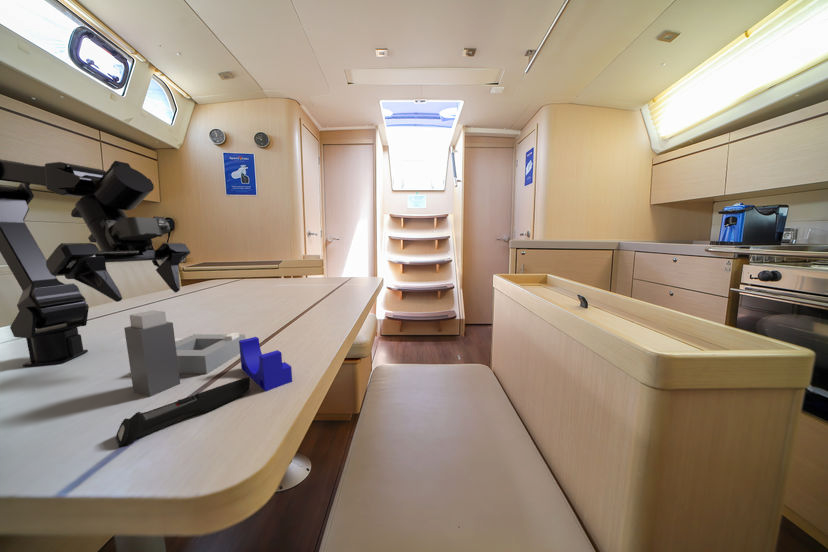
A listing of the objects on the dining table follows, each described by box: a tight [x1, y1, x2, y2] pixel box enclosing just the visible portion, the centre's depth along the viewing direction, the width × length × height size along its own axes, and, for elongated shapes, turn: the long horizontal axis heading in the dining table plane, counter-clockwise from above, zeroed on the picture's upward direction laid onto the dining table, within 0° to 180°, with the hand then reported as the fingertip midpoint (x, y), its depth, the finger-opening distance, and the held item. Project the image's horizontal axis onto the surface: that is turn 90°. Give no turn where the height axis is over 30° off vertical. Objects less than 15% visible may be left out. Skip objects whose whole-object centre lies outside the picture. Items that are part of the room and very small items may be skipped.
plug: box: [123, 309, 181, 397], centre depth 48 cm, size 4×4×13 cm
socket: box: [175, 332, 247, 375], centre depth 60 cm, size 12×12×4 cm
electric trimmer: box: [115, 376, 251, 448], centre depth 41 cm, size 4×16×3 cm, turn 141°
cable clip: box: [239, 336, 293, 393], centre depth 53 cm, size 12×4×6 cm, turn 47°
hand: (151, 295), depth 53 cm, fingers open, 9 cm apart
